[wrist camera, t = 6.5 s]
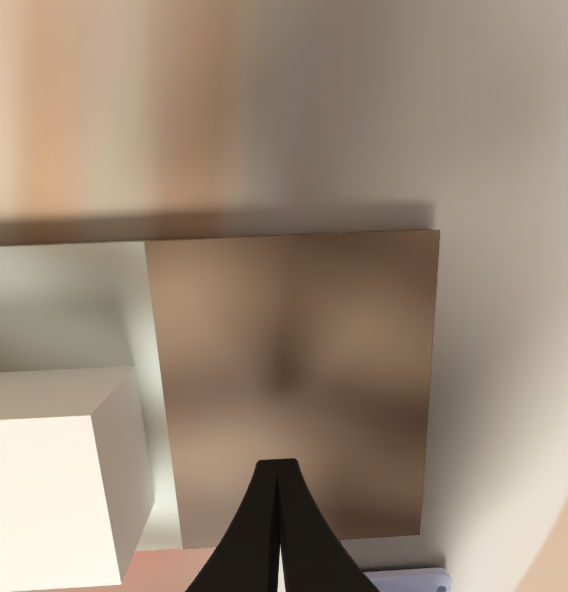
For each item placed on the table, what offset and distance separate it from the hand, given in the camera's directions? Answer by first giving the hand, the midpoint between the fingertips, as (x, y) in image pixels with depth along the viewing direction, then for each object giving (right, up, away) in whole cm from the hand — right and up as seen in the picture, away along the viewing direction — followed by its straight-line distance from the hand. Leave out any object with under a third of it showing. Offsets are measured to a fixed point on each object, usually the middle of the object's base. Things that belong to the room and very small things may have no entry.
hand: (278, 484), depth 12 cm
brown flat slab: (-5, +2, +3) cm, 6 cm away
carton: (-10, 0, +3) cm, 10 cm away
